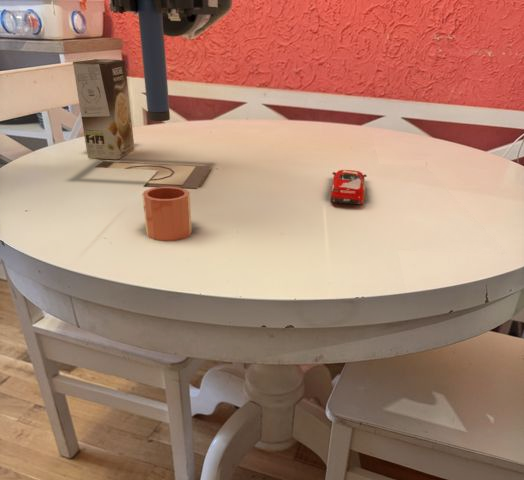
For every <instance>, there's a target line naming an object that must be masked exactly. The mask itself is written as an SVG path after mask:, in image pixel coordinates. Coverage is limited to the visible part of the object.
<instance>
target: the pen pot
mask: <svg viewBox="0 0 524 480" xmlns="http://www.w3.org/2000/svg"><path fill="white" fill-rule="evenodd" d="M141 196H142V204H143V213H144V223H145V231H146V233H145V234H146V235H147V237H148V238H150V239H152V240H155V241H161V242H175V241H181V240H184V239H186V238H189V237H190V236H191V235H192V230H193V229H192V211H191V193H190V191H189V190H188V189H182V188H178V187H150V188H149V189H146V190H144V191H143V193H142V194H141Z"/></svg>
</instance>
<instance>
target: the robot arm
mask: <svg viewBox="0 0 524 480" xmlns="http://www.w3.org/2000/svg"><path fill="white" fill-rule="evenodd" d="M108 2H109V3H108V4H109V5H108V6H109V12H113V14H121V15H122V14H124V13H127V12H128V13H132V15H136V16H137V17H138V7H137V0H108ZM154 5H155V11H156V12H159V13H162V18H163V31H164V36H166V37H171V38H173V37H181V36H182V37H183V38H184V39H186V40H193V39H196V38H197V37H199V36H201V34H202V33H204V32H205V31H207V30H208V29H209V28H210V27H212V26H213V25H215V24H216V23H217V22H218V21H220V20H221V19H222V18H224V17H225V16H226V15H227V14H228V13H229V12H230V11H231V9H232V6H233V0H154Z"/></svg>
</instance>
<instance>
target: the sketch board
mask: <svg viewBox="0 0 524 480" xmlns="http://www.w3.org/2000/svg"><path fill="white" fill-rule="evenodd" d="M95 168H97V169H98V168H99V169H119V170H120V169H123V170H140V171H141V170H142V171H156V172H155V173H153V175H152V176H151V178H149V180H148V181H146V183H145V184H143V187H145V188H157V187H178V188H182V189H185V190H197V189H198V188H200V187H201V185H202V184H203V182H204V181H205V180H206V177H207V176H208V174H209V173H210V171H211V169H212V168H211V165H199V164H197V165H196V164H180V163H179V164H176V163H158V162H156V163H155V162H136V161H134V162H133V161H116V160H115V161H112V160H102V161H101V162H100V163H98V164H97V165H95Z"/></svg>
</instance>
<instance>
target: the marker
mask: <svg viewBox="0 0 524 480" xmlns="http://www.w3.org/2000/svg"><path fill="white" fill-rule="evenodd" d="M137 7H138V16H137V18H138V26H139V37H140V46H141V47H140V48H141V58H142V67H143V77H144V79H143V80H144V87H145V98H146V109H147V118H148V120H149V121H151V122H167V121H170V119H171V116H170V114H171V113H170V101H169V100H170V99H169V86H168V75H167V74H168V73H167V62H166V60H167V59H166V58H167V57H166V46H165V45H166V44H165V35H164V31H163V18H162V13H159V12H156V11H155V5H154V0H137Z"/></svg>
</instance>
